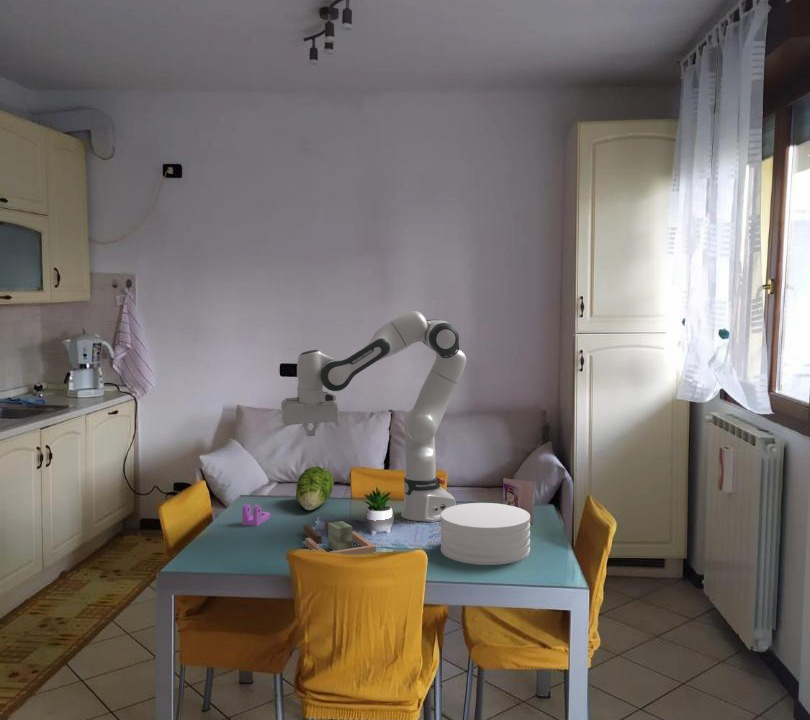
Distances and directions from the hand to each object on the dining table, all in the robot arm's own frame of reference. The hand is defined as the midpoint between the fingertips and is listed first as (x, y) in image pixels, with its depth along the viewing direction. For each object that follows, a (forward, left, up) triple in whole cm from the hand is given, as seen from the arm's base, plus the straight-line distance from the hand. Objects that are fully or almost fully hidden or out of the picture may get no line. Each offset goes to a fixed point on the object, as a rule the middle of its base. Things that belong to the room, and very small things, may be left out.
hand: (310, 435), depth 277 cm
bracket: (+16, -12, -32) cm, 37 cm away
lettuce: (-8, -21, -31) cm, 38 cm away
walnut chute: (+2, +17, -31) cm, 35 cm away
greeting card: (-65, +33, -31) cm, 79 cm away
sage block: (+2, +32, -31) cm, 45 cm away
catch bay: (+2, +32, -31) cm, 45 cm away
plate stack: (-39, +53, -32) cm, 73 cm away
